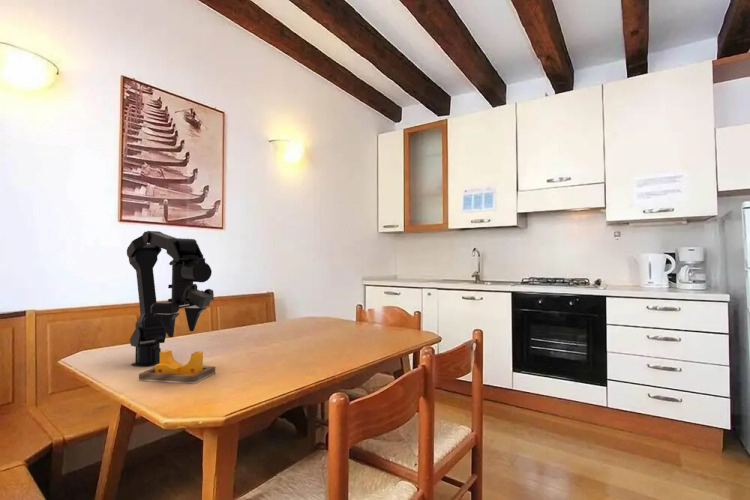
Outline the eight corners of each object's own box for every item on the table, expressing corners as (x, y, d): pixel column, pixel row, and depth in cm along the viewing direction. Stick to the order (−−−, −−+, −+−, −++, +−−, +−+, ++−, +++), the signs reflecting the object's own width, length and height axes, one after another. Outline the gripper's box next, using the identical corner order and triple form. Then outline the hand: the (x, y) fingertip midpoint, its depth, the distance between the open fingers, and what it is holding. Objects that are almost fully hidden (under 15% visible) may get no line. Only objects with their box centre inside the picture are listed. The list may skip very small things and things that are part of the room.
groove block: (138, 380, 108) (138, 373, 108) (163, 370, 118) (163, 364, 118) (194, 383, 106) (194, 376, 106) (215, 373, 116) (215, 366, 116)
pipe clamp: (155, 376, 111) (155, 353, 111) (165, 372, 115) (165, 350, 115) (193, 378, 109) (193, 355, 109) (202, 374, 113) (202, 351, 113)
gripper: (186, 283, 104) (185, 342, 104) (225, 279, 122) (224, 329, 122) (149, 282, 106) (148, 340, 106) (193, 279, 124) (192, 328, 124)
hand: (181, 334), depth 114 cm, fingers open, 9 cm apart
